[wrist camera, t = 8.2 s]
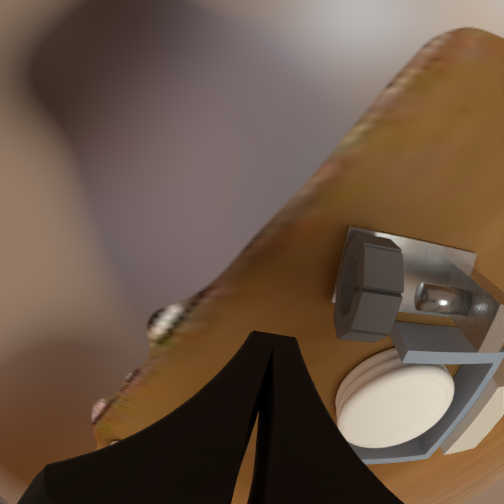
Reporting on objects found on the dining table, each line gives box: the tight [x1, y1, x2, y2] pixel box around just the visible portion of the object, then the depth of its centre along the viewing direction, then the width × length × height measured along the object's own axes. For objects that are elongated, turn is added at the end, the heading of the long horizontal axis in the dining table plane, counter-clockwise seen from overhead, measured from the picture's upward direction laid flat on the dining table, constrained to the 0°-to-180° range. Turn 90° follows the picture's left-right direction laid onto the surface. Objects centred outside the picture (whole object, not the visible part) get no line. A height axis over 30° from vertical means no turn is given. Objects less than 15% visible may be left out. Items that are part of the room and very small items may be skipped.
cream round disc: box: [335, 347, 454, 448], centre depth 18 cm, size 10×10×4 cm
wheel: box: [334, 232, 404, 343], centre depth 14 cm, size 5×2×5 cm, turn 173°
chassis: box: [347, 321, 504, 464], centre depth 17 cm, size 14×14×5 cm
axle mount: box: [331, 225, 504, 353], centre depth 14 cm, size 5×10×6 cm, turn 83°
